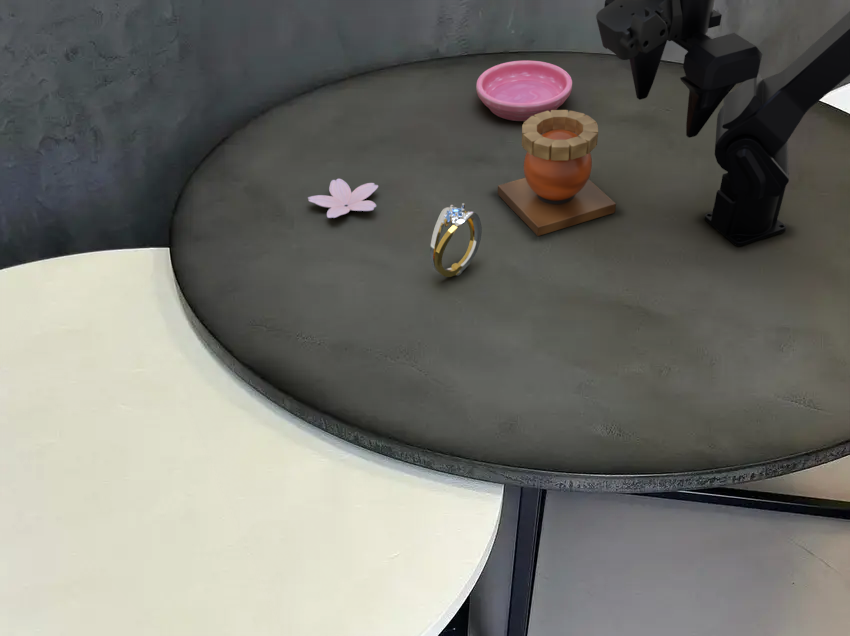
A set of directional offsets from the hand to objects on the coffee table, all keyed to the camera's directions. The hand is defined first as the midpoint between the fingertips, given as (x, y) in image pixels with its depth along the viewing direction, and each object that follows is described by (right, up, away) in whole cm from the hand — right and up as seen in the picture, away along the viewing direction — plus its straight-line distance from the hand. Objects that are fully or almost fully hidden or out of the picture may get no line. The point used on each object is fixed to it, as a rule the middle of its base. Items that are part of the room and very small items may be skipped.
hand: (666, 116), depth 103 cm
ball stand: (-10, -5, +12) cm, 16 cm away
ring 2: (-10, 0, +6) cm, 12 cm away
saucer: (-11, +13, +28) cm, 33 cm away
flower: (-34, -5, +14) cm, 37 cm away
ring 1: (-22, -15, +4) cm, 27 cm away
